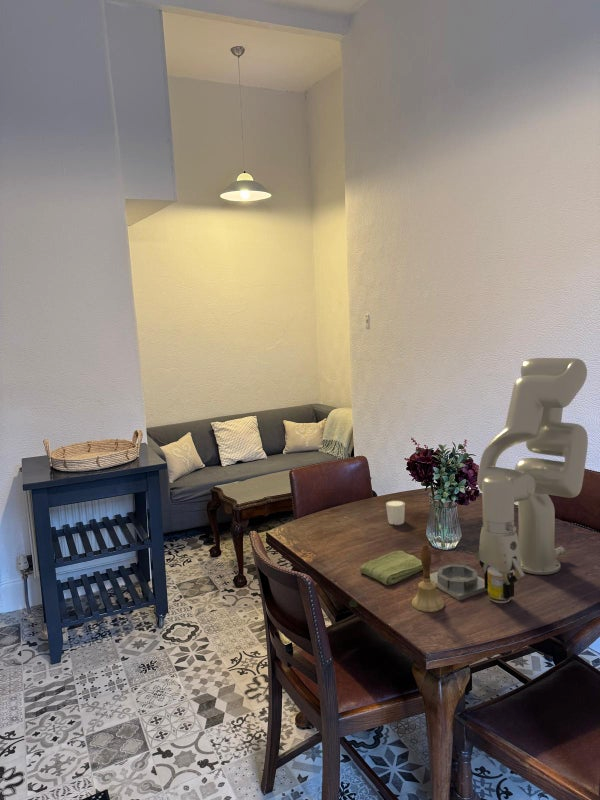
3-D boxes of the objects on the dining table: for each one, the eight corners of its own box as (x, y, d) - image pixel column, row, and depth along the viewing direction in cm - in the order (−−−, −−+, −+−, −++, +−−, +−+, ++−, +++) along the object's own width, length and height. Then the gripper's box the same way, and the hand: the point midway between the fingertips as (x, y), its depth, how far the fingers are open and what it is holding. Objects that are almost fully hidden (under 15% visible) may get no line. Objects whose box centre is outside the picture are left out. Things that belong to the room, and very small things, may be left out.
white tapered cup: (382, 521, 206) (382, 502, 205) (398, 517, 209) (397, 499, 208) (393, 526, 200) (392, 507, 199) (409, 522, 203) (409, 504, 202)
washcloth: (431, 569, 166) (431, 559, 166) (388, 589, 156) (387, 578, 156) (398, 556, 177) (398, 546, 176) (356, 573, 167) (355, 563, 166)
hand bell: (406, 607, 145) (404, 548, 143) (418, 593, 152) (417, 536, 149) (437, 615, 140) (436, 554, 138) (449, 600, 147) (447, 541, 145)
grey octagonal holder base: (456, 569, 164) (456, 558, 164) (493, 588, 152) (493, 576, 152) (423, 579, 159) (423, 569, 159) (458, 600, 147) (458, 588, 146)
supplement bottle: (493, 591, 150) (492, 555, 149) (514, 597, 146) (513, 559, 145) (484, 600, 146) (483, 562, 145) (505, 606, 142) (505, 567, 141)
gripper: (536, 532, 137) (536, 602, 140) (484, 512, 153) (485, 576, 155) (514, 539, 134) (515, 610, 137) (462, 518, 149) (464, 583, 152)
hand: (499, 591), depth 146 cm, fingers closed on supplement bottle, 5 cm apart
